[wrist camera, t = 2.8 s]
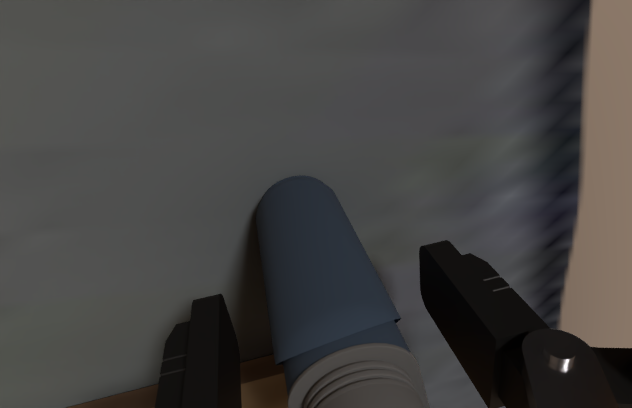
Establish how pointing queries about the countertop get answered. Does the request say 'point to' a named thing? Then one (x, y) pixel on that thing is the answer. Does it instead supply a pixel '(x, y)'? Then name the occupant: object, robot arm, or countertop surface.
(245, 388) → the block
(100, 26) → the countertop surface
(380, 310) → the vaping device
